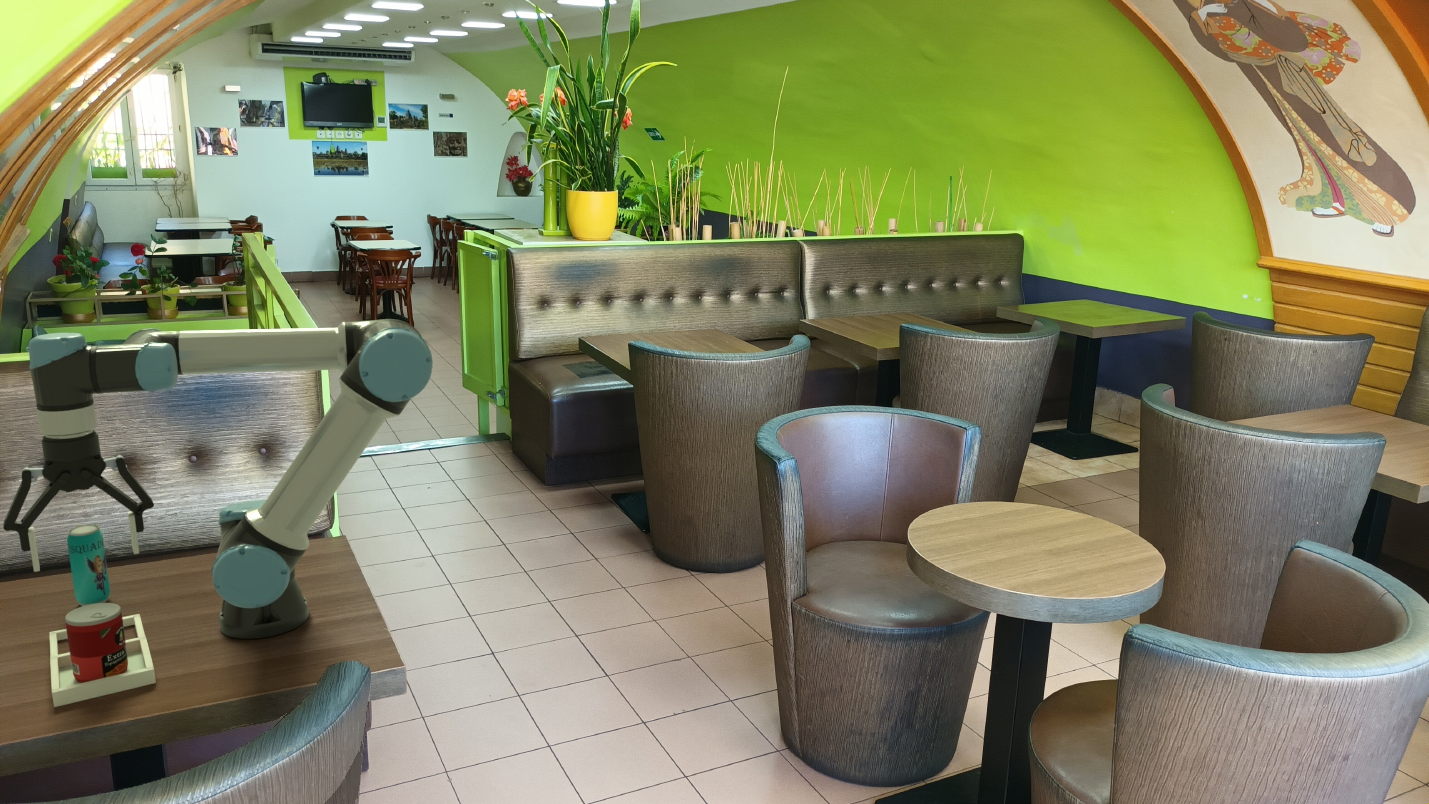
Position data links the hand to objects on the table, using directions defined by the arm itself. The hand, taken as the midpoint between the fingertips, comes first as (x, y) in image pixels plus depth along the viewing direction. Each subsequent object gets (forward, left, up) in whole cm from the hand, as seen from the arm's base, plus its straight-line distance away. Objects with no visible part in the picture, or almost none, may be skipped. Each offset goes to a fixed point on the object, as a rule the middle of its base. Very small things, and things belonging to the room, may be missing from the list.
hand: (87, 559), depth 160 cm
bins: (+5, -4, -21) cm, 22 cm away
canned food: (0, 0, -20) cm, 20 cm away
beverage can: (+26, -22, -21) cm, 40 cm away
